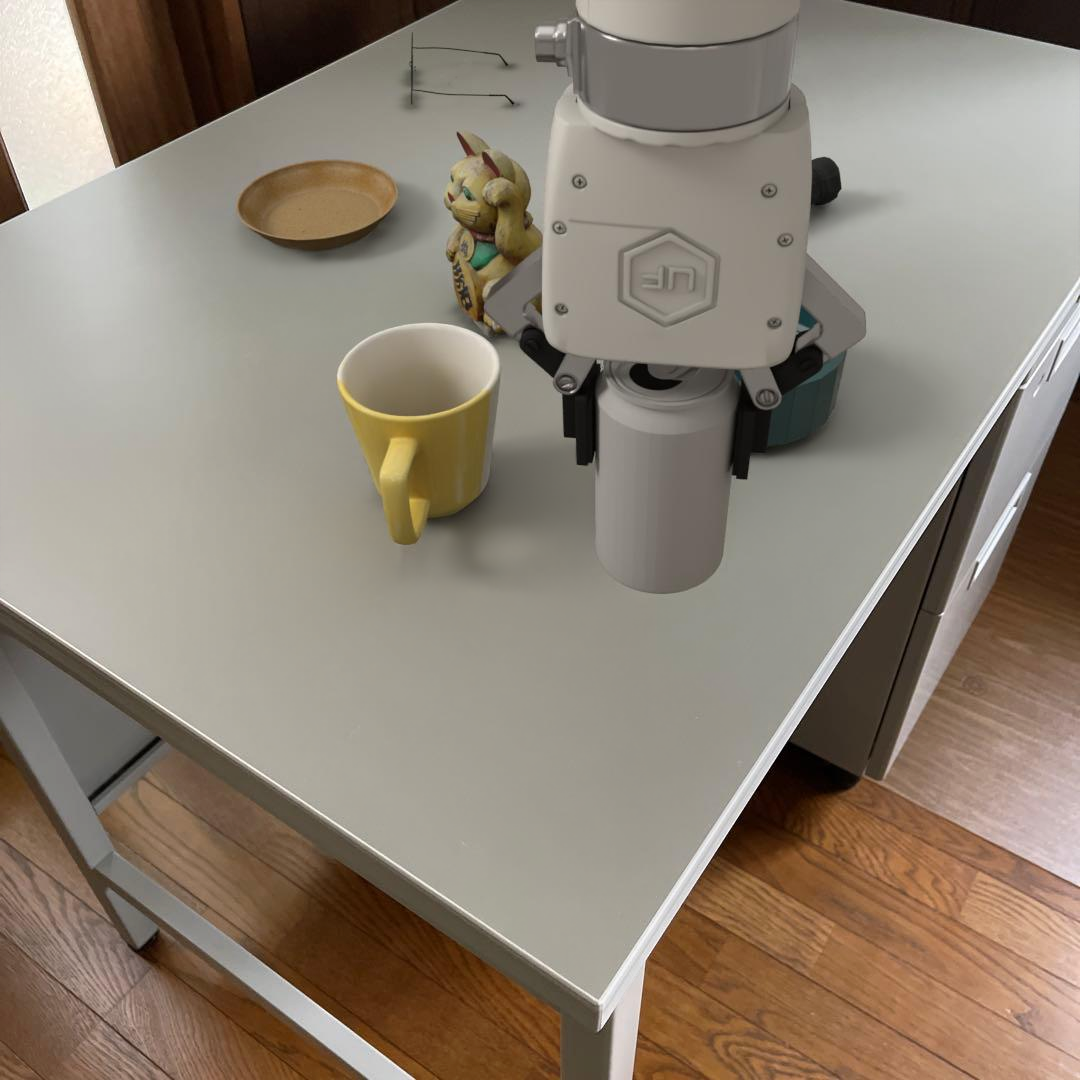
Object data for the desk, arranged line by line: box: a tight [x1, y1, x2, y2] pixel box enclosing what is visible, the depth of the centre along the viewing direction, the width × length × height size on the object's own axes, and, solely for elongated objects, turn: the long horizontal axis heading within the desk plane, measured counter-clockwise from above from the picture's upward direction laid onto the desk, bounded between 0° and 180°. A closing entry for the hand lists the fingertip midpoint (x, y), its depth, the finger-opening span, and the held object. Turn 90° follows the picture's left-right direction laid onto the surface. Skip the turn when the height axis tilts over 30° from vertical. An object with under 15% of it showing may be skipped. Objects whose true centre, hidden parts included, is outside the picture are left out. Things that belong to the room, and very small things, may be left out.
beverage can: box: [594, 360, 740, 595], centre depth 52 cm, size 6×6×12 cm
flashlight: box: [811, 156, 842, 207], centre depth 98 cm, size 5×21×5 cm, turn 122°
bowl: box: [734, 306, 848, 448], centre depth 81 cm, size 13×13×6 cm
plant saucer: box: [235, 158, 399, 252], centre depth 102 cm, size 15×15×3 cm
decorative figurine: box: [443, 130, 543, 338], centre depth 86 cm, size 10×8×15 cm
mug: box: [336, 322, 502, 546], centre depth 71 cm, size 14×10×10 cm
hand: (664, 450), depth 51 cm, fingers closed on beverage can, 6 cm apart
